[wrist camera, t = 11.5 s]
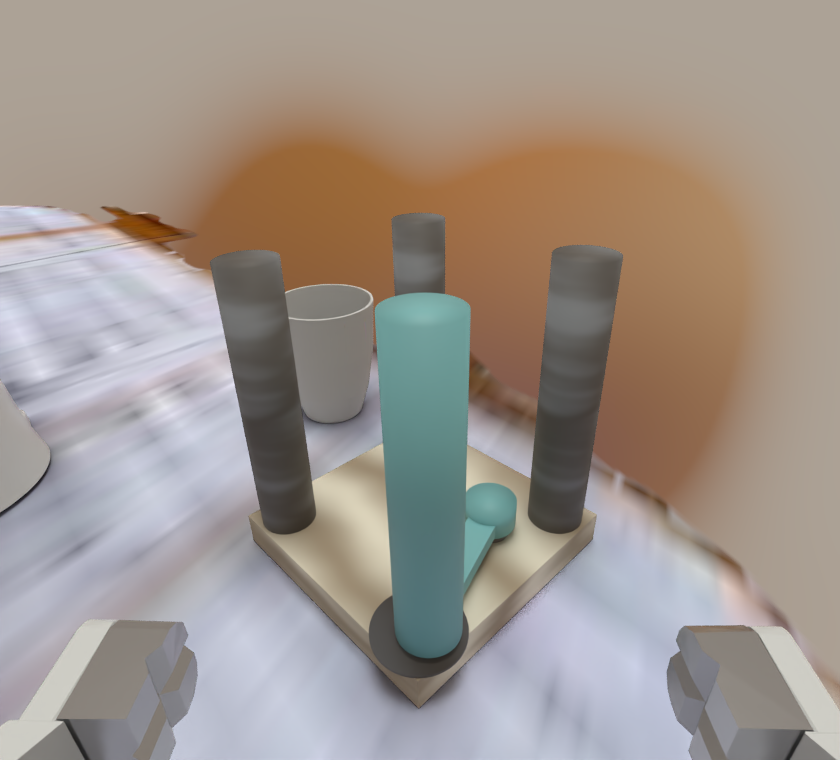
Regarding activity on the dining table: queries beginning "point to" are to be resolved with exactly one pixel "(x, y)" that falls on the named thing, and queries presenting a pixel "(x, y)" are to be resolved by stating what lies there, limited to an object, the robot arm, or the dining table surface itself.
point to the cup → (331, 348)
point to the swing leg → (431, 469)
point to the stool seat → (365, 475)
